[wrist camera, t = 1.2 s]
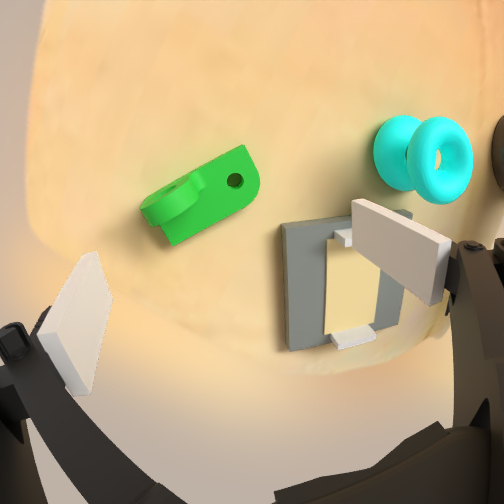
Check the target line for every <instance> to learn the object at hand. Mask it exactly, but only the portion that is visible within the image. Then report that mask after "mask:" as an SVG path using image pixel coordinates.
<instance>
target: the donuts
mask: <svg viewBox="0 0 504 504" xmlns="http://www.w3.org/2000/svg"><path fill="white" fill-rule="evenodd" d="M407 147H408V150H407V161H406V158H405V152H406V149H407ZM437 149H439V150H440V153H441V164H440V167H439V168H438V170H436V171H435V168H434V167H435V163H436V151H437ZM373 156H374V162H375V166H376V169H377V171H378V173H379V175H380V177H381V178H382V179H383V180H384V182H385V183H387V184H388V185H389V186H390V187H392V188H394V189H397V190H400V191H412V190H416V191H417V193H418V194H419V195H420V196H421V197H422V198H424V199H425V200H426V201H428V202H430V203H433V204H439V205H443V204H448V203H451V202H453V201H454V200H456V199H457V198H458V197H460V196H461V194H462V193H463V192H464V191H465V189H466V187H467V186H468V183H469V181H470V178H471V175H472V170H473V152H472V148H471V144H470V141H469V139H468V137H467V135H466V133H465V131H464V130H463V129H462V128H461V127H460V126H459V125H458V124H457V123H456V122H454V121H453V120H451V119H449V118H446V117H433V118H429V119H427V120H425V121H424V122H423V123H422V122H421V121H420V120H418V119H416V118H414V117H411V116H406V115H401V116H396V117H393V118H391V119H389V120H388V121H386V122H385V123H384V124H383V125H382V127H381V128H380V129H379V131H378V133H377V135H376V138H375V141H374V147H373Z"/></svg>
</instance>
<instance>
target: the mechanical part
mask: <svg viewBox="0 0 504 504" xmlns="http://www.w3.org/2000/svg"><path fill="white" fill-rule="evenodd" d="M232 173H239V174H240V175H241V182H240V184H239V185H237V186H235V187H231V186H229V185H227V178H228V177H229V175H231V174H232ZM259 187H260V178H259V174H258V171H257V169H256V167H255V165H254V163H253V161H252V159H251V157H250V155H249V153H248V151H247V149H246V147H245V145H240V146H238V147H236V148H234V149H232V150H230V151H228V152H226V153H225V154H223V155H221V156H219V157H217V158H215V159H213V160H211V161H209V162H208V163H206V164H204V165H202V166H200V167H198V168H197V169H195V170H193V171H191V172H189V173H188V174H186V175H184V176H182V177H181V178H179V179H177V180H175V181H174V182H172V183H170V184H168V185H167V186H165V187H163V188H162V189H160V190H158V191H156V192H155V193H153V194H151V195H150V196H148V197H147V198H146V199H145V201H144V202H143V204H142V205H141V207H140V208H139V209H140V210H141V212H142V214H143V215H144V217H145V219H146V220H147V222H148V223H149V225H150V227H155V226H158V225H160V227H161V228H162V230H163V232H164V233H165V235H166V236H167V238H168V240H169V241H170V243H171V244H172V246H175V245H176V244H178V243H180V242H182V241H183V240H185V239H187V238H189V237H191V236H192V235H194V234H196V233H198V232H200V231H201V230H203V229H205V228H207V227H209V226H210V225H212V224H214V223H216V222H218V221H220V220H221V219H223V218H225V217H227V216H229V215H231V214H233V213H234V212H236V211H238V210H240V209H242V208H244V207H245V206H247V205H249V204H250V203H251V202H252V201H253V200H254V198H255V197H256V195H257V193H258V191H259Z"/></svg>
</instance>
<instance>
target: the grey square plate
mask: <svg viewBox="0 0 504 504" xmlns="http://www.w3.org/2000/svg"><path fill="white" fill-rule="evenodd" d="M393 212H395V213H397V214H400V215H402V216H404V217H406V218H408V219H410V220H412V215H413V213H411V212H409V211H407V210H394V211H393ZM281 229H282V250H283V272H284V298H285V328H286V345H287V347H288V349H289V352H292V351H296V350H301V349H306V348H310V347H315V346H319V345H323V344H327V343H332V342H333V343H334V345H335V346H336V348H337V350H341V349H345V348H348V347H352V346H356V345H359V344H363V343H367V342H370V341H374V340H376V336H377V334H376V333H375V332H374V331H377V330H381V329H384V328H388V327H391V326H394V325H398V321H399V315H400V310H401V304H402V298H403V292H404V286H402V285H401V284H400V283H398V282H397V281H396V280H395V279H393V278H392V277H391V276H389V275H388V274H387V273H385V272H384V271H383V270H381V269H380V268H379V267H377V266H376V265H375V264H373V263H372V262H370V261H369V260H368V259H366V258H365V257H364V256H362V255H361V254H360V253H358V252H357V251H355V250H354V249H353V248H352V215H349V216H340V217H332V218H324V219H315V220H307V221H299V222H291V223H283V224H281Z"/></svg>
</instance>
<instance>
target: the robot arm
mask: <svg viewBox="0 0 504 504" xmlns="http://www.w3.org/2000/svg"><path fill="white" fill-rule="evenodd" d="M492 161H493V169H494V173H495V177H496V180H497V182H498V184H499V186H500V187H501V188H502V189H503V190H504V116H503V117H502V118H501V119H500V121H499V122H498V124H497V127H496V130H495V133H494V138H493V146H492ZM351 201H352V248H353V249H354V250H355V251H357V252H358V253H360V254H361V255H362V256H364V257H365V258H366V259H368V260H369V261H370V262H372V263H373V264H375V265H376V266H377V267H379V268H380V269H381V270H383V271H384V272H385V273H387V274H388V275H389V276H391V277H392V278H393V279H395V280H396V281H397V282H398V283H400V284H401V285H402V286H404V287H405V288H406V289H408V290H409V291H410V292H411V293H413V294H414V295H415V296H417V297H418V298H419V299H420V300H422V301H423V302H424V303H425V304H427V305H428V306H432V305H434V304H436V303H439V302H441V301H442V298H443V293H444V288H445V289H447V290H448V291H450V295H449V300H448V305H447V309H446V313H445V316H447V315H448V313H449V312H450V319H451V330H452V343H453V363H454V416H453V427H452V428H448V429H444V428H443V427H442V425H441V424H440V423H439V422H438V421H437V422H435V423H433V424H432V425H430V426H428V427H426V428H425V429H423V430H421V431H419V432H418V433H416V434H414V435H413V436H411V437H409V438H407V439H405V440H404V441H403V442H402V443H400V444H399V445H398V446H397V447H396V448H395V449H394V450H393V451H391V452H390V453H389V454H388V455H386V456H385V457H384V458H383V459H382V460H380V461H379V462H378V463H377V464H375V465H374V466H373V467H371V468H368V469H364V470H359V471H354V472H349V473H343V474H337V475H331V476H323V477H319V478H316V479H313V480H310V481H307V482H304V483H301V484H298V485H294V486H291V487H288V488H285V489H281V490H278V491H274V495H275V500H276V502H274V503H272V504H504V238H497V239H495V243H494V249H493V250H486V248H485V247H484V246H483V245H482V244H480V243H477V242H475V241H462V242H460V243H458V244H457V243H455V242H453V241H452V240H451V239H449V238H447V237H445V236H443V235H441V234H439V233H437V232H435V231H433V230H431V229H429V228H427V227H425V226H423V225H421V224H419V223H417V222H415V221H412V220H410V219H408V218H406V217H404V216H402V215H400V214H397V213H395V212H393V211H391V210H389V209H386V208H384V207H382V206H380V205H377V204H375V203H373V202H370V201H368V200H366V199H357V200H351ZM112 302H113V298H112V295H111V293H110V290H109V287H108V284H107V281H106V278H105V275H104V272H103V269H102V266H101V263H100V260H99V257H98V253H97V251H94V252H90V253H86V254H83V255H82V256H81V258H80V260H79V261H78V263H77V264H76V266H75V268H74V269H73V271H72V272H71V274H70V276H69V278H68V279H67V281H66V282H65V284H64V286H63V287H62V289H61V291H60V293H59V294H58V296H57V298H56V300H55V302H54V303H53V305H52V306H49V307H48V308H47V309H46V310H45V311H44V312H43V313H42V314H41V316H40V318H39V319H38V322H37V323H36V325H35V328H34V329H33V330H32V332H31V334H30V336H29V335H28V334H27V331H26V329H25V327H24V325H23V324H22V323H20V322H14V323H10V324H8V325H6V326H4V327H2V328H1V329H0V357H1V359H2V360H3V362H4V364H5V365H3V366H0V504H48V502H47V499H46V496H45V493H44V490H43V487H42V484H41V480H40V477H39V474H38V470H37V467H36V463H35V460H34V455H33V451H32V447H31V443H30V438H29V434H28V429H27V424H26V419H27V418H31V420H32V421H33V423H34V425H35V427H36V428H37V430H38V432H39V434H40V435H41V437H42V439H43V440H44V442H45V443H46V445H47V447H48V448H49V450H50V451H51V453H52V454H53V456H54V457H55V459H56V460H57V462H58V463H59V465H60V466H61V468H62V469H63V471H64V472H65V473H66V475H67V476H68V477H69V479H70V480H71V482H72V483H73V484H74V486H75V487H76V488H77V489H78V491H79V492H80V493H81V495H82V496H83V497H84V498H85V500H86V501H87V502H88V503H89V504H187V503H186V502H184V501H183V500H182V499H180V498H179V497H177V496H176V495H175V494H174V493H172V492H171V491H170V490H168V489H167V488H166V487H165V486H163V485H162V484H160V483H156V482H155V481H154V480H153V479H151V478H150V477H149V476H148V475H147V474H145V473H144V472H143V471H142V470H141V469H140V468H138V467H137V465H135V464H134V463H133V462H132V461H131V460H130V459H129V458H128V457H127V456H126V455H125V454H124V453H123V452H122V451H121V450H120V449H119V448H118V447H116V445H115V444H113V442H112V441H111V440H109V438H108V437H107V436H106V435H105V434H104V433H103V432H102V431H101V430H100V429H99V428H98V427H97V426H96V424H95V423H94V422H93V421H92V420H91V419H90V418H89V417H88V416H87V414H86V413H85V412H84V411H83V410H82V409H81V407H80V406H79V405H78V404H77V403H76V402H75V400H74V399H73V398H72V397H71V395H70V394H69V393H68V392H67V390H66V389H65V385H66V386H67V388H68V390H69V391H70V393H71V394H72V396H84V395H91V393H92V387H93V382H94V377H95V372H96V368H97V363H98V358H99V354H100V350H101V345H102V341H103V337H104V333H105V329H106V325H107V321H108V317H109V314H110V310H111V306H112Z"/></svg>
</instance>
